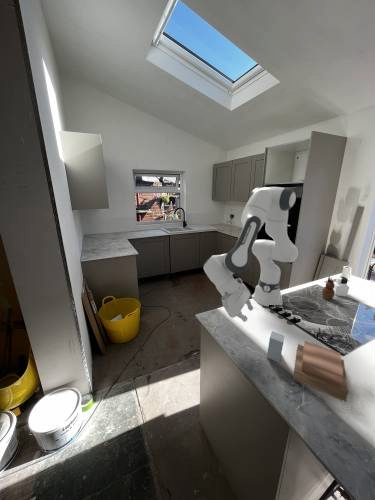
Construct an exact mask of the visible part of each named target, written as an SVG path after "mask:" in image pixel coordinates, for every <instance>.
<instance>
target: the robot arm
mask: <svg viewBox="0 0 375 500" xmlns="http://www.w3.org/2000/svg"><path fill="white" fill-rule="evenodd" d="M296 198H297V196H296V191H295V190H294V189H293V188H290V187H280V186H268V187H267V186H265V187H261V186H260V187H256V188H254V189H252V191H251V193H250V194H249V199H248V201H247V203H246V204H245V207H244V208H243V211H242V214H241V219H240V223H241V225H242V230H241V232H240V234H239V237H238V239H237V241H236V244H235V245H234V246H233V247H232V248H231V249H230V250H229V251H228V252H227V253H223V254H215V255H213V254H212V255H211V256H210V257H208V258H207V259H206V260H205V262H204V263H203V270H204V273H205V274H206V275H207V278H208V279H209V280H210V281H211V283H212V284H214V285H215V288H216V290H217V291H218V292H219V293H220V295H221V303H222V307H223V308H224V311H226V313H227V315H228V316H229V317H230V318H232V319H233V318H235V317H237V318H239V319H241V321H242V322H247V321H248V319H249V318H248V317H247V315H246V314H245V315H244V314H243V312H242V310H243V308H244V306H246V307H247V309H248V310H249V311H253V310H254V306H253V304H252V303H251V300H250V297H251V298H252V299H253V300H254V301H255V302H256V303H257V304H259V305H260V306H261V305H262V306H265V307H269V305H281V306H283V303H284V302H283V295H282V293H281V290H280V286H281V283H280V279H281V271H282V270H281V269H280V267H279V266H278V265H277V264H276V263H275V262H274V261H276V262H281V263H293V262H294V261H296V260H297V259H298V256H299V249H298V247H297V246H296V245H295V244H294V243H293V242H292V240H290V237H289V236H288V220H289V210H291V208H293V207H294V205H295V203H296V200H297V199H296ZM264 224H265V229H264V230H265V233H266V234H267V235H268V236H269V237H270V238H272V239H273V240H270V239H256V238H257V236H258V233H259V232H260V231H261V228H262V227H263V226H264ZM251 252H252V253H251ZM251 254H253V255H254V256H255V257H256V259H257V260H258V262H259V265H260V277H259V279H258V284H257V285H256V286H255V289H254V293H252V294H251V291H250V290H249V288H248V287H247V286H246V285H245V284H244V283H243V280H242V278H240V277H239V278H234V276H233V275H234V274H243V273H245V272H246V271H247V270H248V269H250V265H251V262H252V257H251V256H252V255H251Z"/></svg>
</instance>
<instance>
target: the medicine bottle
mask: <svg viewBox="0 0 375 500" xmlns="http://www.w3.org/2000/svg"><path fill="white" fill-rule="evenodd" d="M335 279H336V280H335V281H333V282H334V288H333V290H334V292H335V294H334V296H337V297H347V296H348V294H349V290H350V286H348V285H347V284H348V281H349V279H348V278H347V277H345V276H342V275H341V276H336V278H335Z"/></svg>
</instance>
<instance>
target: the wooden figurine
mask: <svg viewBox="0 0 375 500" xmlns="http://www.w3.org/2000/svg"><path fill="white" fill-rule="evenodd" d="M332 278H333V277H330V276H328V278H327V282H326V283H325V286H324V287H323V289H321V290H322V291H321V294H322V297H323V298H324V299H325V300H327V301H328V300H331V301H332V299H333V298H334V297H335V295H334V294H335V292H334V290H333V288H334V282H335V281H333V279H332Z"/></svg>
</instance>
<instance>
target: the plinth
mask: <svg viewBox="0 0 375 500" xmlns="http://www.w3.org/2000/svg"><path fill="white" fill-rule="evenodd" d="M293 368H294V369H293V376H292V380H295V381H296V382H298V383H301V384H303V385H306V386H308V387H310V388H312V389H315V390H316V391H319V392H322V393H325V394H327V395H329V396H331V397H334V398H335V399H338V400H339V401H343V402H347V398H348V396H349V389H348V388H349V387H348V381H347V374H346V367H345V360H344V359H342V356H341V352H338V351H336V350H333V349H329V348H327V347H324V346H321V345H318V344H315V343H313V342H309V341H307V340H305V341H304V343H303V345H302V344H299V343H297V348H296V353H295V361H294V367H293Z"/></svg>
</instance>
